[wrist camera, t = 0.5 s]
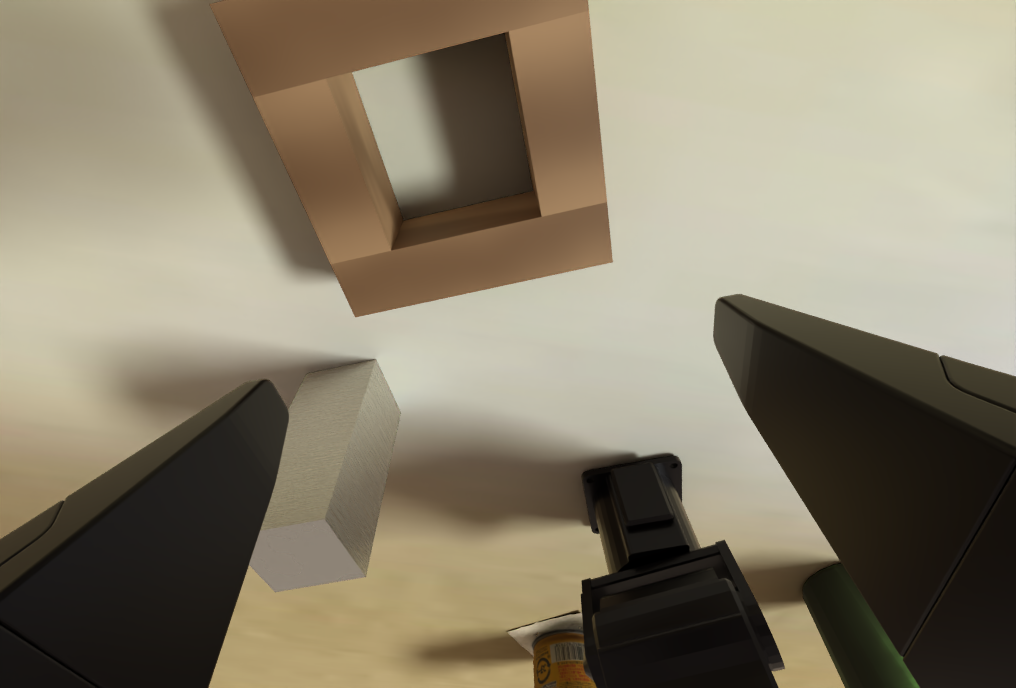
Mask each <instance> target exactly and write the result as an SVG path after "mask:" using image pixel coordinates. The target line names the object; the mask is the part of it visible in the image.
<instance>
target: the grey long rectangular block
mask: <svg viewBox="0 0 1016 688" xmlns="http://www.w3.org/2000/svg"><path fill="white" fill-rule="evenodd" d="M288 412H289V423H288V427H287V432H286V437H285V442H284V446H283V451H282V456H281V461H280V465H279V470H278V475H277V479H276V483H275V486H274V490H273V493H272V496H271V499H270V502H269V505H268V509H267V512H266V515H265V518H264V521H263V524H262V527H261V530H260V533H259V536H258V539H257V542H256V545H255V548H254V551H253V554H252V557H251V560H250V563H249V565H250V566H251V567H252V568H253V569H254V570H255V572H256V573H257V574H258V575H259V576H260V577H261V578H262V579H263V580H264V581H265V582H266V583H267V584H268V585H269V586H270V587H271V588H272V589H273V590H274V591H275V592H279V591H285V590H291V589H297V588H303V587H309V586H315V585H321V584H327V583H333V582H339V581H345V580H351V579H357V578H363V577H366V574H367V569H368V564H369V560H370V555H371V550H372V546H373V541H374V536H375V531H376V527H377V522H378V517H379V513H380V508H381V503H382V499H383V494H384V489H385V485H386V480H387V475H388V470H389V466H390V461H391V456H392V452H393V447H394V442H395V438H396V433H397V428H398V424H399V419H400V414H401V412H400V410H399V408H398V406H397V403H396V401H395V399H394V397H393V395H392V393H391V390H390V388H389V386H388V384H387V382H386V380H385V378H384V375H383V373H382V371H381V369H380V367H379V365H378V363H377V360H376V359H375V360H371V361H366V362H361V363H356V364H351V365H346V366H341V367H337V368H332V369H327V370H322V371H317V372H312V373H307V374H306V376H305V378H304V380H303V382H302V384H301V386H300V388H299V390H298V392H297V394H296V396H295V398H294V400H293V401H292V403H291V405H290V407H289V409H288Z"/></svg>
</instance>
